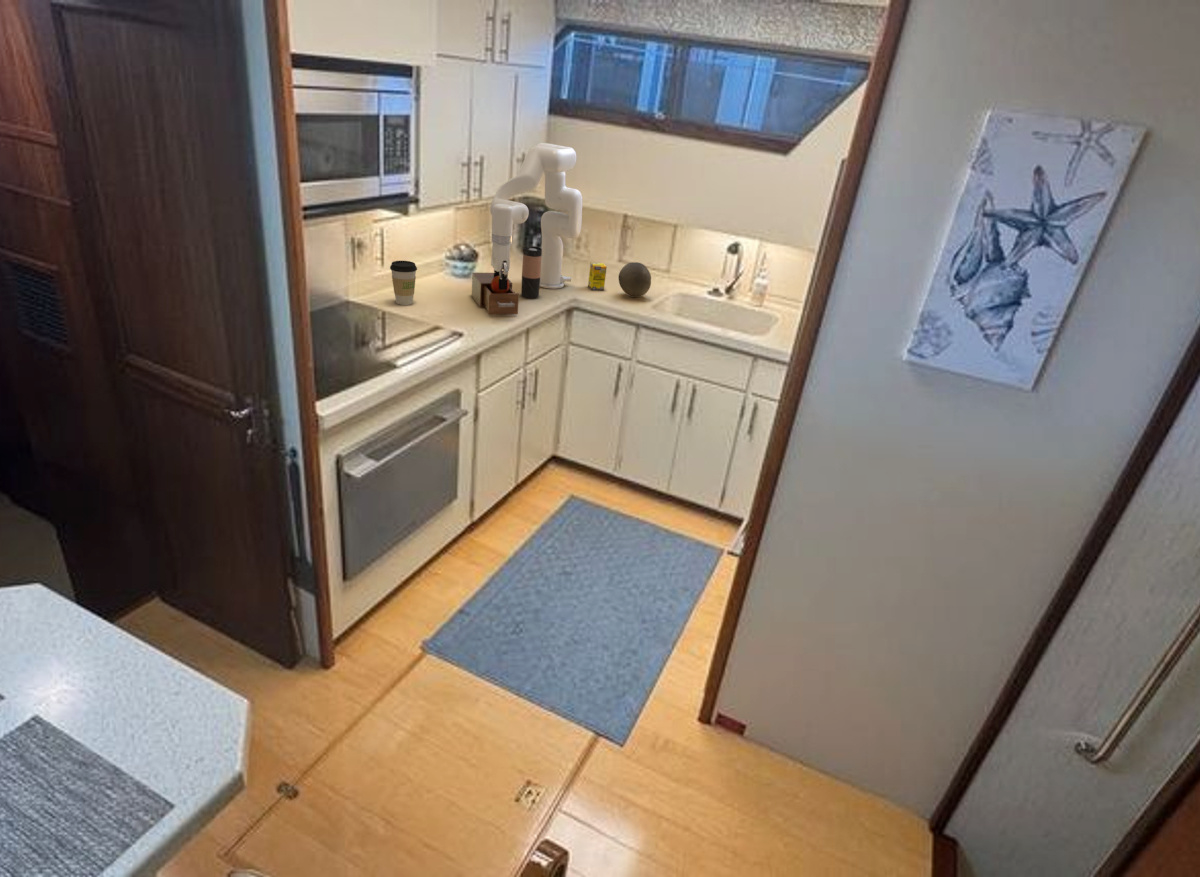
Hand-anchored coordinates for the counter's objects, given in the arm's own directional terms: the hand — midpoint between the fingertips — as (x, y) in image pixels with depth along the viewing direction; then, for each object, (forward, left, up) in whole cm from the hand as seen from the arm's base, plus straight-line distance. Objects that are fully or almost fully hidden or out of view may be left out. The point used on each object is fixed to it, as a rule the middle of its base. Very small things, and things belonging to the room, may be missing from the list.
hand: (500, 285), depth 264 cm
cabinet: (0, -12, -10) cm, 15 cm away
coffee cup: (+34, -12, -10) cm, 38 cm away
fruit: (0, 0, -3) cm, 3 cm away
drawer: (0, +2, -9) cm, 9 cm away
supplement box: (-52, -28, -10) cm, 60 cm away
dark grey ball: (-64, -15, -10) cm, 67 cm away
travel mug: (-18, -18, -10) cm, 27 cm away
